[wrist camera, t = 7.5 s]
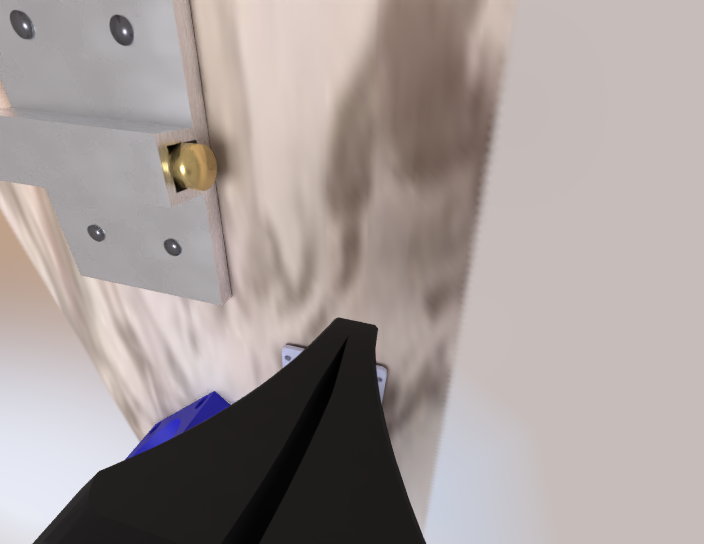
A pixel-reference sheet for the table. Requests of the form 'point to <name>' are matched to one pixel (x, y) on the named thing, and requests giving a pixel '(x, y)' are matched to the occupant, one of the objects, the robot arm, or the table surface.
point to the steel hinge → (113, 137)
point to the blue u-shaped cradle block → (182, 421)
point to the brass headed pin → (193, 166)
